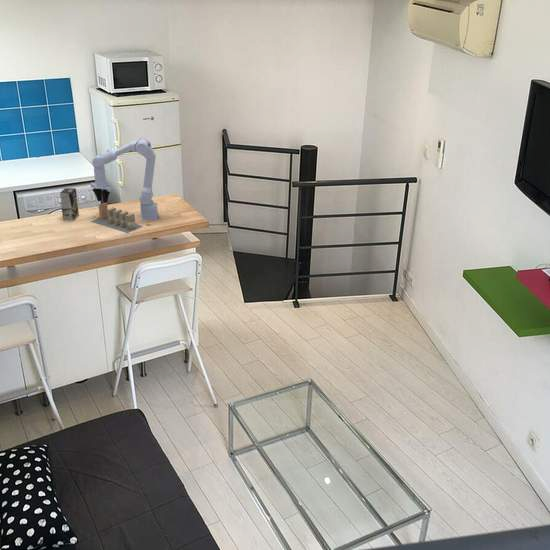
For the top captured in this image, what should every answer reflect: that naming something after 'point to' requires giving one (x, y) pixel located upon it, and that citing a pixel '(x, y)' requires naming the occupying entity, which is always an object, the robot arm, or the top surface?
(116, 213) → the grey wooden block
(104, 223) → the slate mat
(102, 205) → the terracotta tile
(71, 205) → the coffee box
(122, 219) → the wooden block
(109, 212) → the grey wood block
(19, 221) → the top surface
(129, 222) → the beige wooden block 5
